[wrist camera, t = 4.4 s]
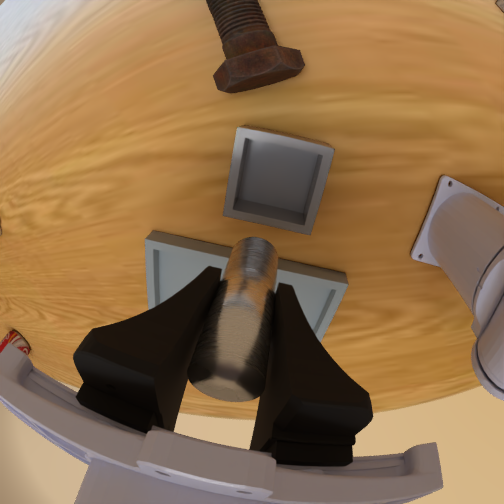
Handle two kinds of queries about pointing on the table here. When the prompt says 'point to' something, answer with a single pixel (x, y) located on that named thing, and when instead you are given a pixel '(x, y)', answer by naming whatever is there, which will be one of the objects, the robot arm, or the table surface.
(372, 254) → the table surface
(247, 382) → the steel pin
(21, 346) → the soda can
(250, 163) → the shallow square open box
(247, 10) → the bolt
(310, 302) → the tray
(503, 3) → the grey stone block
